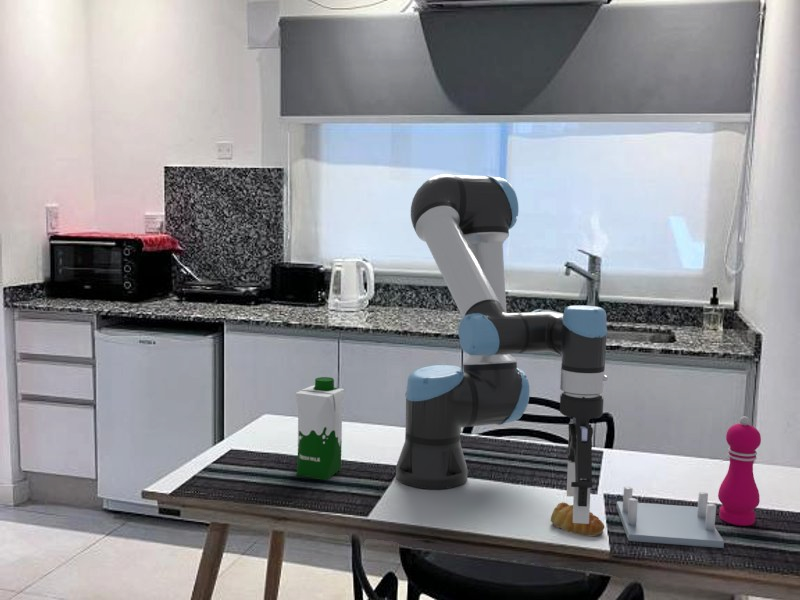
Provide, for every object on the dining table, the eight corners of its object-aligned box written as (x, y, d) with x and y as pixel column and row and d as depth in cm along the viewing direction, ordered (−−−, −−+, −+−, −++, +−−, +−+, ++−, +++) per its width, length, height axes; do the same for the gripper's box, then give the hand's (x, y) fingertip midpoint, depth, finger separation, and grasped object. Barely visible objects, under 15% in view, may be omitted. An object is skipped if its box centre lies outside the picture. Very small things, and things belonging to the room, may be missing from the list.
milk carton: (346, 469, 177) (348, 379, 174) (327, 482, 168) (328, 387, 166) (310, 463, 180) (311, 374, 177) (290, 476, 172) (290, 383, 169)
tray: (628, 540, 143) (630, 509, 142) (616, 507, 159) (618, 478, 158) (723, 547, 141) (726, 516, 140) (701, 513, 157) (703, 484, 156)
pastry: (611, 531, 148) (612, 511, 147) (592, 542, 143) (593, 521, 142) (565, 516, 154) (566, 497, 153) (546, 526, 149) (547, 506, 149)
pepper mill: (709, 512, 157) (717, 411, 155) (745, 512, 158) (753, 411, 156) (727, 527, 150) (736, 421, 148) (765, 526, 151) (774, 421, 148)
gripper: (612, 410, 132) (607, 536, 134) (595, 380, 157) (591, 487, 159) (565, 408, 133) (560, 533, 135) (556, 378, 158) (552, 485, 160)
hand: (577, 508), depth 147 cm, fingers open, 13 cm apart
